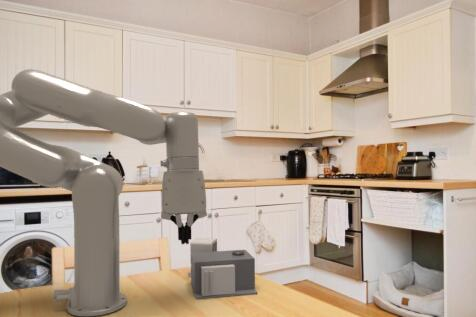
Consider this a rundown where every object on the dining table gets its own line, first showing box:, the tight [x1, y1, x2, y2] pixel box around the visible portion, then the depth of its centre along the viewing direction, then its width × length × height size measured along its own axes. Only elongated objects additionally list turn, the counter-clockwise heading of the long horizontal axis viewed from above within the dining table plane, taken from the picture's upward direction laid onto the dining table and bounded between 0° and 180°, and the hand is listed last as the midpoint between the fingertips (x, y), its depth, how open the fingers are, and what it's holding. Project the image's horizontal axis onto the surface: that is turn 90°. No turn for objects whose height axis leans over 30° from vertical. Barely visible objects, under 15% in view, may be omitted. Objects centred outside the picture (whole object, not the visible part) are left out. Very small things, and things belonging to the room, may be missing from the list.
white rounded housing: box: [187, 237, 218, 278], centre depth 107 cm, size 6×7×10 cm
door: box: [201, 264, 235, 296], centre depth 90 cm, size 8×2×6 cm, turn 102°
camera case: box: [190, 249, 258, 300], centre depth 95 cm, size 15×12×9 cm
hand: (184, 242), depth 88 cm, fingers closed
